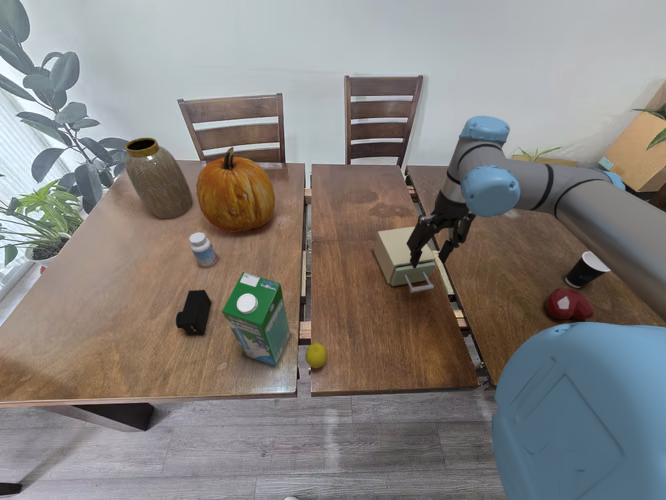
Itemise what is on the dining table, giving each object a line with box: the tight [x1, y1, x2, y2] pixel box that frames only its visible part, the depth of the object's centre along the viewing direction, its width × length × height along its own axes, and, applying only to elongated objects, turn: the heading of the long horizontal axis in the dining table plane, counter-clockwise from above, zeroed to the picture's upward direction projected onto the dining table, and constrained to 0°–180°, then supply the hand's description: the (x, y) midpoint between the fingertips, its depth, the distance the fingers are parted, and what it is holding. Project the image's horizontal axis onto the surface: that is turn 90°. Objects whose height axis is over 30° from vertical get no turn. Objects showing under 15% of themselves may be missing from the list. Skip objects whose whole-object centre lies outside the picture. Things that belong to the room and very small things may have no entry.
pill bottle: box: [188, 231, 218, 268], centre depth 89 cm, size 6×6×11 cm
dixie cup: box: [564, 251, 612, 289], centre depth 88 cm, size 8×8×11 cm
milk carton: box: [221, 271, 291, 367], centre depth 65 cm, size 9×9×25 cm
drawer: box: [390, 261, 436, 294], centre depth 88 cm, size 20×13×8 cm, turn 13°
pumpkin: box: [196, 146, 276, 233], centre depth 97 cm, size 26×23×30 cm
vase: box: [124, 137, 193, 219], centre depth 101 cm, size 17×17×27 cm
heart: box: [545, 287, 596, 320], centre depth 82 cm, size 12×8×10 cm
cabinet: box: [373, 225, 436, 285], centre depth 91 cm, size 15×14×10 cm
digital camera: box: [175, 289, 212, 337], centre depth 76 cm, size 10×5×7 cm, turn 5°
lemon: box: [304, 342, 328, 369], centre depth 68 cm, size 6×6×8 cm
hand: (427, 261), depth 76 cm, fingers open, 8 cm apart
